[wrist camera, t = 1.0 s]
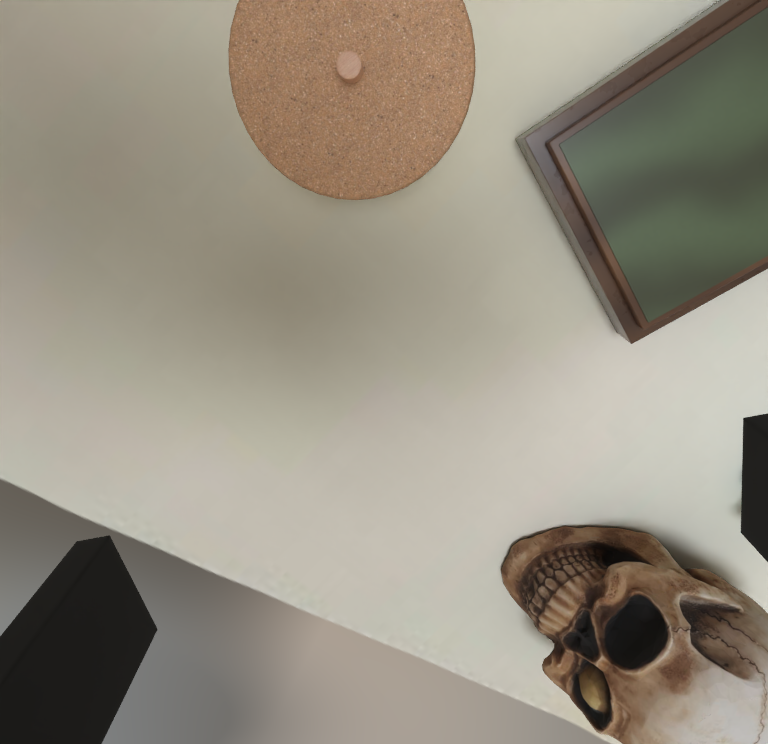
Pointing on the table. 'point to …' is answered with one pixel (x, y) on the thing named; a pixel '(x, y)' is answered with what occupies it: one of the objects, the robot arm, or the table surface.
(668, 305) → the holder
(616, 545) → the coin bank
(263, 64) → the lidded bowl
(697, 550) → the table surface
